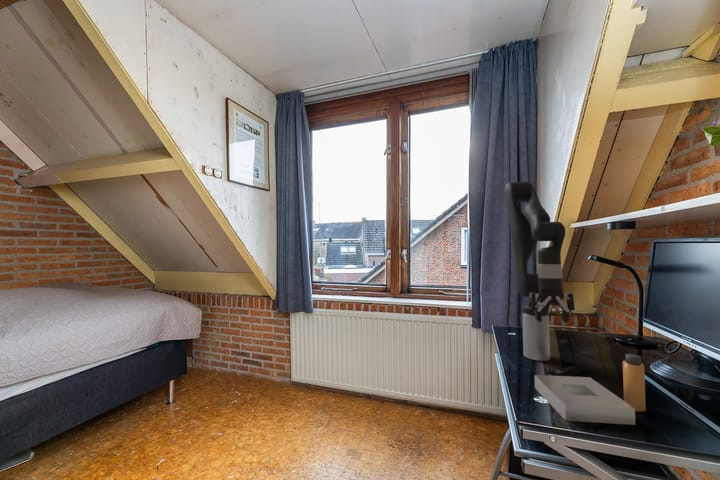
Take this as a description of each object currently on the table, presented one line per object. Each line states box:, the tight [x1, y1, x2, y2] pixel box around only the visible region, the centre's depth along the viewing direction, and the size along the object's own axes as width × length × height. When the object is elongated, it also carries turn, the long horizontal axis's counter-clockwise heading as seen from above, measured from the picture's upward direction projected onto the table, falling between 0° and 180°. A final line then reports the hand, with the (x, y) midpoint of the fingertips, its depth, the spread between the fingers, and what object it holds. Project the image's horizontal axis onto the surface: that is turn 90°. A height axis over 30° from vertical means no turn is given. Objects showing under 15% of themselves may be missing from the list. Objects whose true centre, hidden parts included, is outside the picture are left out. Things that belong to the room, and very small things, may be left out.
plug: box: [622, 353, 647, 412], centre depth 83 cm, size 4×4×14 cm
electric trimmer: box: [545, 364, 582, 377], centre depth 103 cm, size 4×16×3 cm, turn 113°
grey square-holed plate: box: [534, 374, 636, 426], centre depth 85 cm, size 18×16×4 cm
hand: (551, 322), depth 108 cm, fingers open, 8 cm apart
